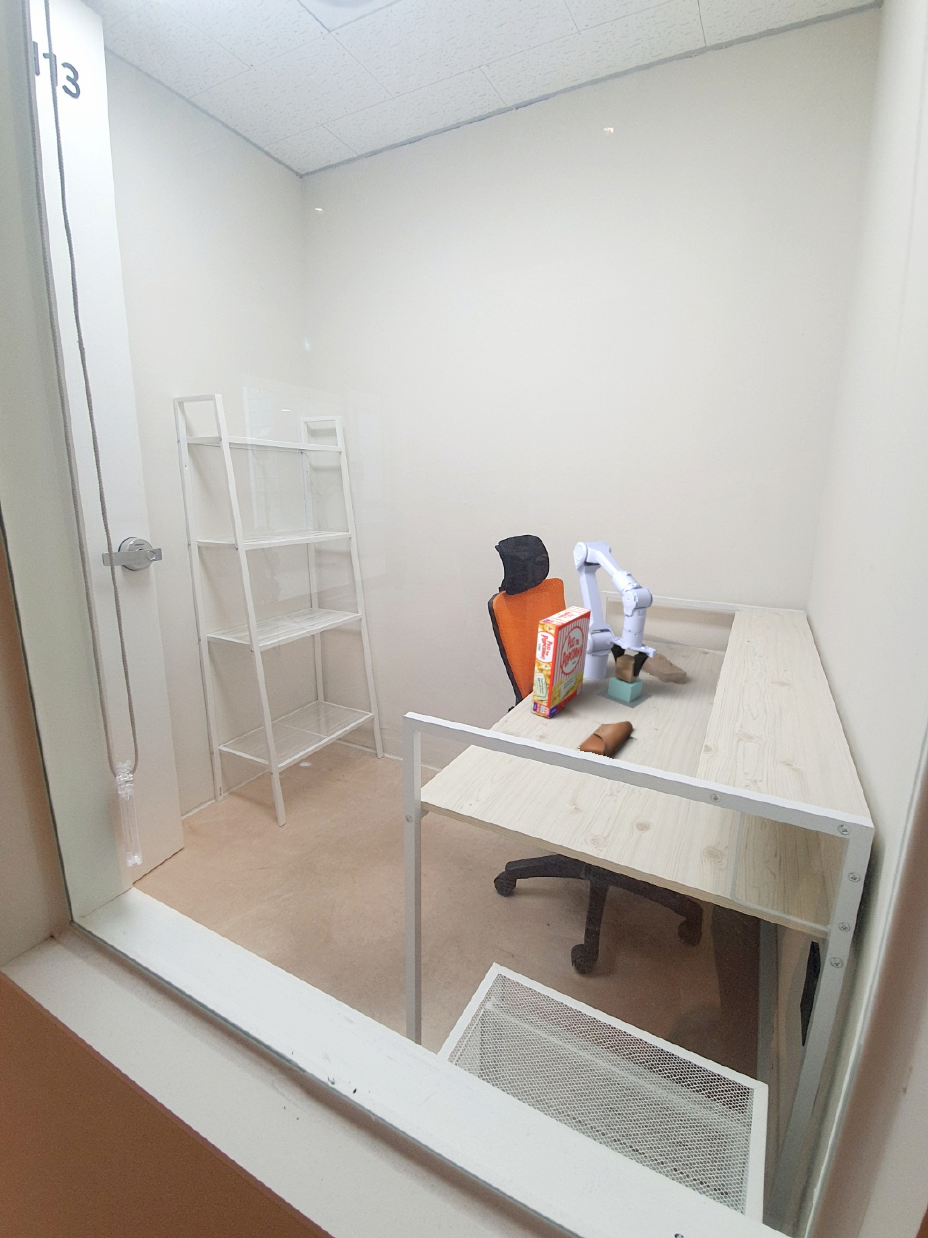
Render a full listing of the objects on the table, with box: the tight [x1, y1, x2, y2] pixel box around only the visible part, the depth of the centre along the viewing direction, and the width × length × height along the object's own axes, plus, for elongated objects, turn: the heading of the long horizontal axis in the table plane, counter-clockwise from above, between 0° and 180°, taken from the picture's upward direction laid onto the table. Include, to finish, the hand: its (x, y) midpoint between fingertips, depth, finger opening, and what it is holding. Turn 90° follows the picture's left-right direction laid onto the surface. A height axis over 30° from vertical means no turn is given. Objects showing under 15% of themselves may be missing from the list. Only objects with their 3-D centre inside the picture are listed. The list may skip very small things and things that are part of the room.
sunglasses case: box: [576, 720, 634, 758], centre depth 135 cm, size 18×7×7 cm
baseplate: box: [596, 686, 653, 709], centre depth 159 cm, size 12×12×1 cm
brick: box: [641, 652, 687, 685], centre depth 176 cm, size 17×8×5 cm, turn 14°
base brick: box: [608, 675, 644, 702], centre depth 158 cm, size 7×7×5 cm
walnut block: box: [614, 653, 640, 682], centre depth 156 cm, size 5×5×6 cm
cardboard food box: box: [530, 605, 591, 718], centre depth 151 cm, size 20×6×27 cm, turn 143°
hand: (627, 672), depth 157 cm, fingers closed on walnut block, 5 cm apart
